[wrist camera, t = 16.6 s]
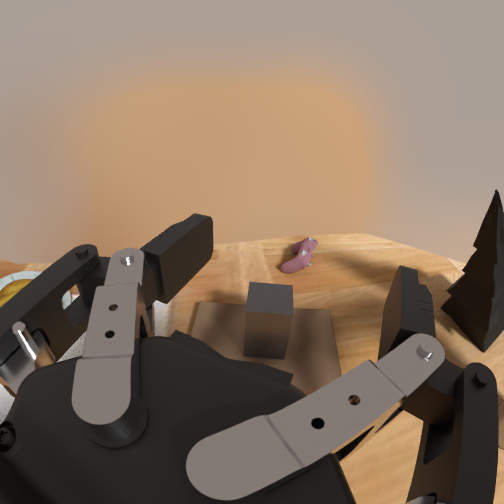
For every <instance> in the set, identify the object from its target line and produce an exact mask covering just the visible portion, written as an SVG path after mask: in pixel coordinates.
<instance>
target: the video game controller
mask: <svg viewBox="0 0 504 504" xmlns="http://www.w3.org/2000/svg"><path fill="white" fill-rule="evenodd" d="M317 243H318V242H317V241H316V240H315V239H313V238H310V237H309V238H306V239H304V240H302V241H300V242H297V243H295V244H294V245H293V246H292V247H291V251H292V252H293V253H298V254H297V256H296V257H295V258H294V259H292V260H290V261H287V262H285V263H284V264H282V265H281V271H282V272H284V273H294V272H297V271H299V270H301V269H304V268H305V267H306V266H307V265H308V266H310V265H311V262H310V260H311V258H312V255H311V254H312V252H313V250H314V249H315V247H316V245H317ZM308 266H307V267H308Z"/></svg>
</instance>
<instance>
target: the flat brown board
mask: <svg viewBox="0 0 504 504" xmlns="http://www.w3.org/2000/svg"><path fill="white" fill-rule="evenodd" d="M245 314H246V305H239V304H226V303H215V302H204V301H200V303H199V307H198V310H197V314H196V318H195V322H194V325H193V329H192V333H191V336H192V337H194V338H196V339H199V340H201V341H203V342H204V343H206V344H207V345H208V346H210V347H211V348H213V349H214V350H216V351H217V352H218V353H220V354H221V355H223V356H224V357H226V358H228V359H234V360H240V361H247V362H254V363H262V364H265V365H268V366H271V367H274V368H277V369H280V370H283V371H286V372H289V373H292V374H294V375H293V379H292V382H291V384H293V385H294V386H296V387H297V388H299V389H300V390H301V391H303V392H304V393H305V394H306V395H307V396H308V395H310V394H312V393H313V392H315V391H317V390H319V389H320V388H322V387H324V386H326V385H327V384H329V383H331V382H332V381H334V380H336V379H337V378H339V377H341V369H340V364H339V358H338V352H337V347H336V341H335V336H334V330H333V325H332V320H331V315H330V310H324V309H302V308H293V320H292V325H291V330H290V335H289V340H288V345H287V350H286V355H285V359H284V360H281V359H267V358H255V357H244V356H243V355H244V335H245Z"/></svg>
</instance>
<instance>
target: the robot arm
mask: <svg viewBox="0 0 504 504" xmlns="http://www.w3.org/2000/svg"><path fill="white" fill-rule="evenodd" d="M212 253H213V220H212V218H211V217H209V216H205V215H200V214H196V213H195V214H193V215H191V216H190V217H189V218H187V219H186V220H184V221H182V222H180V223H177V224H174V225H172V226H170V227H169V228H168V229H166V230H165V231H164V232H162V233H161V234H159V236H157V237H155V238H154V239H152V240H151V241H150V242H149V243H147V244H146V245H144V246H143V247H142V248H140V249H136V248H126V249H122V250H119V251H117V252H116V253H114V254H113V255H112V256H111V257H100V256H99V255H98V251H97V248H96V246H94V245H91V244H85V245H80V246H78V247H75V248H74V249H72V250H71V251H69V252H68V253H67V254H65V255H64V256H63V257H61V258H60V259H59V260H57V261H56V262H55V263H53V264H52V265H51V266H50V267H48V268H47V269H46V270H44V271H43V272H42V273H41V274H39V275H38V276H37V277H36V278H34V279H33V280H32V281H31V282H30V283H28V284H27V285H26V286H25V287H23V288H22V289H21V290H20V291H19V292H17V293H16V294H15V295H14V296H13V297H12V298H10V299H9V300H8V301H7V302H6V303H5V304H4V305H2V306H1V307H0V384H2V385H3V386H4V388H5V389H6V390H7V391H8V392H9V393H10V395H11V396H13V397H15V400H14V402H13V405H12V407H11V409H10V411H9V413H8V415H7V417H6V418H5V420H4V422H3V423H2V424H1V425H0V504H356V502H355V499H354V497H353V494H352V492H351V490H350V487H349V485H348V482H347V480H346V477H345V475H344V473H343V470H342V468H341V465H340V463H341V462H342V461H344V460H345V459H347V458H348V457H349V456H351V455H352V454H353V453H355V452H356V451H357V450H358V449H360V448H361V447H362V446H363V445H364V444H365V443H367V442H368V441H369V440H370V439H371V438H373V437H374V436H375V435H376V434H378V433H379V432H380V431H381V430H382V429H384V428H385V427H386V426H387V425H389V424H390V423H391V422H392V421H393V420H394V419H396V418H397V417H398V416H399V415H400V414H401V413H402V412H403V411H407V412H408V413H410V414H412V415H414V416H415V417H417V418H419V419H421V420H423V421H424V422H423V429H422V435H421V441H420V446H419V451H418V456H417V461H416V465H415V470H414V474H413V478H412V482H411V486H410V490H409V493H408V497H407V500H406V503H405V504H493V500H494V493H495V485H496V476H497V464H498V446H499V447H501V448H502V449H504V402H503V403H502V404H501V405H500V406H499V407H498V396H497V383H496V379H495V376H494V374H493V373H492V371H491V370H490V369H489V368H488V367H487V366H485V365H483V364H481V363H475V362H474V363H471V364H469V365H467V367H466V368H465V369H462V368H460V367H458V366H456V365H455V364H453V363H451V362H449V361H448V360H447V359H445V351H444V348H443V346H442V345H441V343H440V342H439V341H438V340H437V339H436V335H435V322H434V314H433V312H434V311H433V306H432V305H433V302H432V295H431V293H430V291H429V290H428V288H427V286H426V285H422V284H419V281H418V271H417V270H415V269H412V268H408V267H405V266H401V265H400V266H399V267H398V270H397V272H396V275H395V278H394V280H393V283H392V286H391V288H390V291H389V294H388V296H387V299H386V302H385V306H384V312H383V321H382V330H381V339H380V346H379V353H378V360H377V362H376V363H373V362H372V361H371V360H367V361H365V362H363V363H361V364H360V365H358V366H357V367H355V368H354V369H352V370H350V371H349V372H347V373H346V374H344V375H342V376H341V377H339V378H337V379H336V380H334V381H332V382H331V383H329V384H327V385H326V386H324V387H322V388H320V389H319V390H317V391H315V392H313V393H312V394H310V395H308V396H307V395H306V394H305V393H304V392H303V391H301V390H300V389H299V388H297V387H296V386H294V385H293V384H291V382H292V379H293V375H294V374H292V373H289V372H286V371H283V370H280V369H277V368H274V367H271V366H268V365H265V364H262V363H254V362H247V361H240V360H234V359H228V358H226V357H224V356H223V355H221V354H220V353H218V352H217V351H216V350H214V349H213V348H211V347H210V346H208V345H207V344H206V343H204V342H203V341H201V340H199V339H196V338H194V337H192V336H189V335H187V334H184V333H182V332H180V331H177V330H175V331H174V333H173V334H172V335H171V336H170V337H162V336H155V332H154V305H153V303H154V302H155V301H156V300H158V301H160V302H162V303H165V304H167V303H168V302H169V301H170V300H171V299H172V298H173V297H174V296H175V295H176V294H177V293H178V292H179V291H180V290H181V289H182V288H183V287H184V286H185V285H186V284H187V283H188V282H189V281H190V280H191V279H192V278H193V277H194V276H195V275H196V274H197V273H198V272H199V271H200V270H201V268H202V267H203V266H204V265H205V264H206V263H207V262H208V261H209V260H210V258H211V256H212ZM75 284H76V285H77V287H78V290H79V293H80V295H79V296H78V297H77V298H76V299H75V300H74V301H73V302H72V303H71V304H70V305H69V306H67V307H66V308H65V309H63V306H62V298H63V296H64V294H65V293H66V292H67V291H69V290H70V289H71V288H72V287H73V286H74V285H75ZM86 330H87V334H86V339H85V345H84V351H83V355H82V356H79V357H75V358H72V359H68V360H65V361H61V362H57V361H58V360H59V359H60V358H61V357H62V356H63V355H64V353H65V352H66V351H67V350H68V349H69V348H70V347H71V346H72V345H73V344H74V343H75V342H76V341H77V340H78V339H79V337H80V336H81V335H82V334H83V333H84V332H85V331H86ZM56 362H57V363H56Z"/></svg>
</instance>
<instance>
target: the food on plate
mask: <svg viewBox="0 0 504 504" xmlns="http://www.w3.org/2000/svg"><path fill="white" fill-rule="evenodd" d="M42 272H43V271H37V272H36V271H21V272H18V273H14V274H10V275H8V276H5V277H4V278H2V279H0V307H1V306H2V305H4V304H5V303H6V302H7V301H8V300H9V299H10V298H12V297H13V296H14V295H15V294H16V293H17V292H19V291H20V290H21V289H22V288H23V287H25V286H26V285H27V284H28V283H30V282H31V281H32V280H33V279H34V278H36V277H37V276H38V275H39V274H41V273H42ZM71 299H72V297H71V292H70V290H69V291H67V292H66V293H65V294H64V296H63V298H62V306H63V309H65V308H66V307H67V306H69V305H70V304H71V302H70V301H71Z"/></svg>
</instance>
